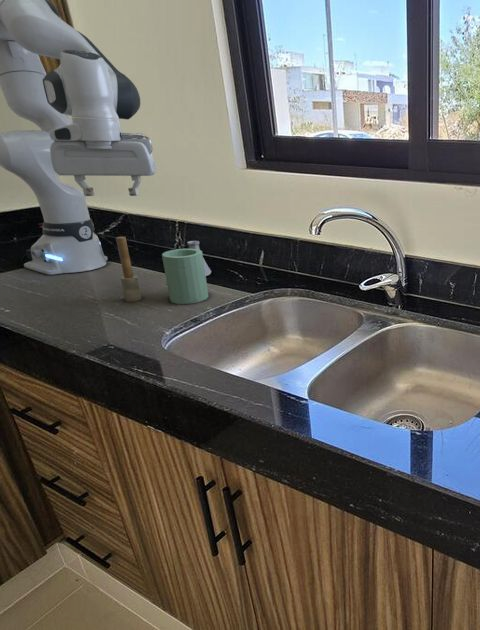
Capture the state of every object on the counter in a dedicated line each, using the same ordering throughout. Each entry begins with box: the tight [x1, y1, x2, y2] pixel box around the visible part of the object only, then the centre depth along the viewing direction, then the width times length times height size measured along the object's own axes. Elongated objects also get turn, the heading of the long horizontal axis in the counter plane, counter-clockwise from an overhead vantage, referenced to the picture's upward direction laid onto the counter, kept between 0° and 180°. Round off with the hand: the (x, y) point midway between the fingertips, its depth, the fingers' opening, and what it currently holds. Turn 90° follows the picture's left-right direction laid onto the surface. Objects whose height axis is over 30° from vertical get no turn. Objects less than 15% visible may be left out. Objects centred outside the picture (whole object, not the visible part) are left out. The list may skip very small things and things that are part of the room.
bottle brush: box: [115, 236, 143, 303], centre depth 117 cm, size 4×4×16 cm
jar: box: [161, 248, 209, 305], centre depth 120 cm, size 9×9×12 cm
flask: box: [186, 240, 212, 277], centre depth 139 cm, size 7×7×10 cm
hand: (112, 195), depth 111 cm, fingers open, 8 cm apart
